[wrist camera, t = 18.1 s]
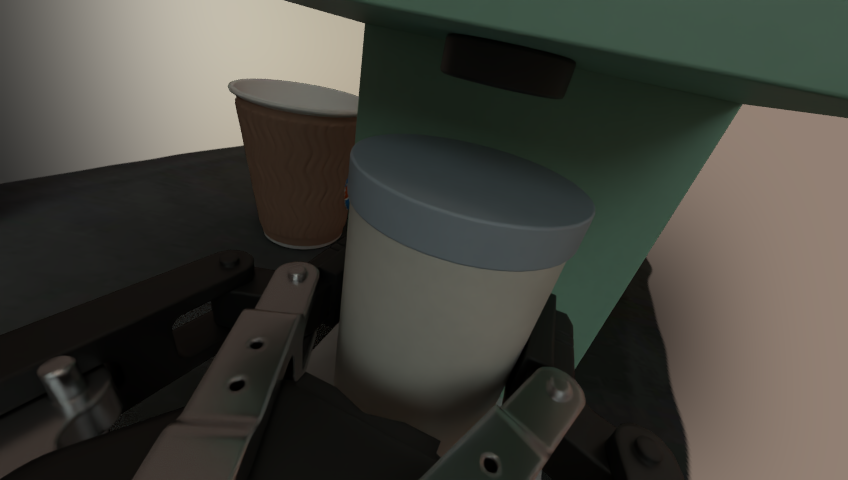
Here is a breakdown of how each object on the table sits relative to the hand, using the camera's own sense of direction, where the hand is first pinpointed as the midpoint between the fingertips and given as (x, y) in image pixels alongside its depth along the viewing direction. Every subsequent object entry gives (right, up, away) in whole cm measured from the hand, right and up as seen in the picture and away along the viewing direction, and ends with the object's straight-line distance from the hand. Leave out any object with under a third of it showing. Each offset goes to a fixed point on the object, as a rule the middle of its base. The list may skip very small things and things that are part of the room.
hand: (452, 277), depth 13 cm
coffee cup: (-12, +2, +18) cm, 22 cm away
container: (-2, -6, +1) cm, 6 cm away
